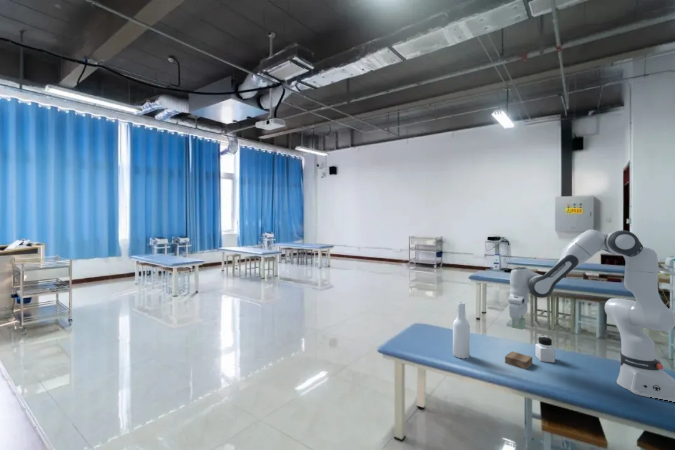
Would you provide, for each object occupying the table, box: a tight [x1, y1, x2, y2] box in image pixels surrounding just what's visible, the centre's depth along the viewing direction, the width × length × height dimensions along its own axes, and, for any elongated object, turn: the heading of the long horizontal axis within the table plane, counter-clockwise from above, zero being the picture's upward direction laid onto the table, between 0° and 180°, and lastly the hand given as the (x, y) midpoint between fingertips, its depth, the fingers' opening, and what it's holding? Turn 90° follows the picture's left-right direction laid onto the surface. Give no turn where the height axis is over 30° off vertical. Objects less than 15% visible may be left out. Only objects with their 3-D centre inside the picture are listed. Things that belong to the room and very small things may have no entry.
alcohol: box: [452, 301, 471, 360], centre depth 179 cm, size 9×9×30 cm
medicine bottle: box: [534, 335, 556, 363], centre depth 175 cm, size 7×7×12 cm
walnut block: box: [504, 351, 533, 370], centre depth 169 cm, size 10×10×4 cm
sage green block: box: [511, 317, 526, 331], centre depth 169 cm, size 5×5×5 cm
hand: (518, 323), depth 169 cm, fingers closed on sage green block, 5 cm apart
